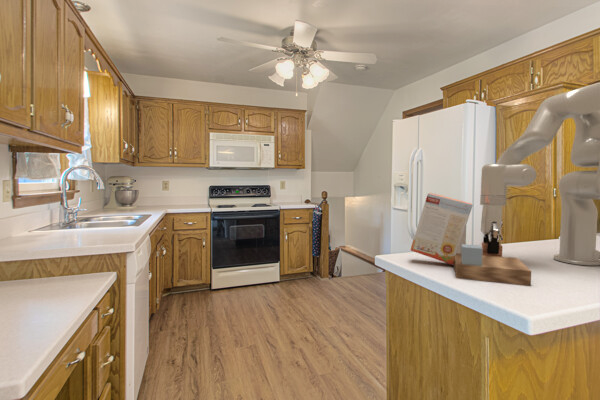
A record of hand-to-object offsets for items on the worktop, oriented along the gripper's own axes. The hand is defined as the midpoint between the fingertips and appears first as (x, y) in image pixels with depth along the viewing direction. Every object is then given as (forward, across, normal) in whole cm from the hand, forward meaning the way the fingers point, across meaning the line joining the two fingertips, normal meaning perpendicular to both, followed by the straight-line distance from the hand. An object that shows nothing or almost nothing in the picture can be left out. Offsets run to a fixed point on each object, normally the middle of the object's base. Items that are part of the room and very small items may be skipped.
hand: (490, 250), depth 108 cm
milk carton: (+5, -6, -12) cm, 14 cm away
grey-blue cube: (+1, +20, -8) cm, 21 cm away
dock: (+4, +15, -3) cm, 16 cm away
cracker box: (+3, +7, -18) cm, 20 cm away
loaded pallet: (+5, 0, 0) cm, 5 cm away
